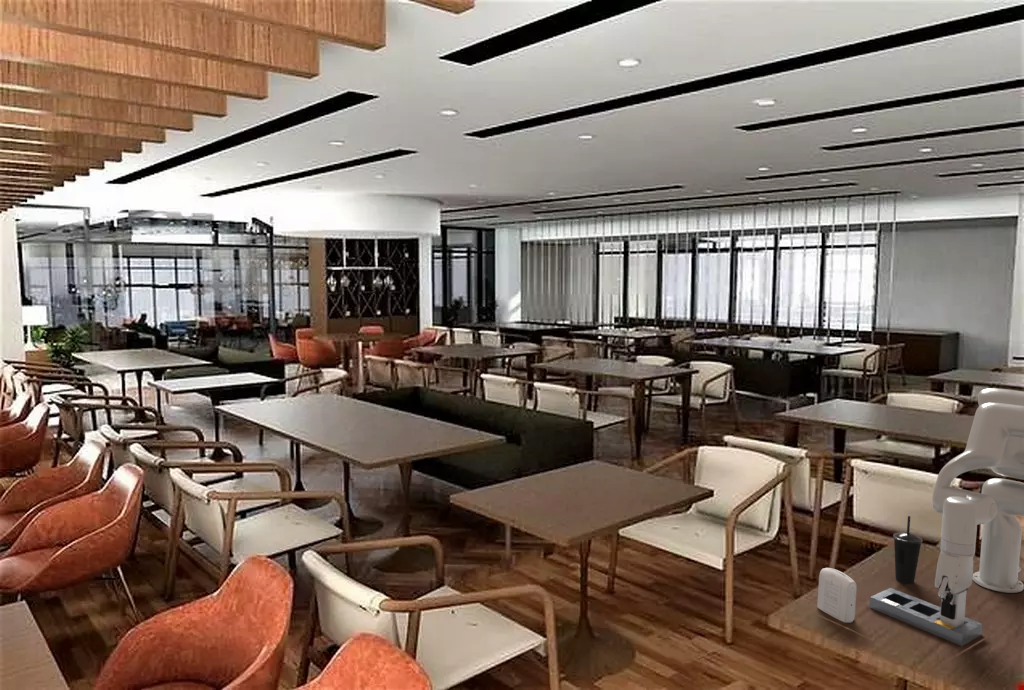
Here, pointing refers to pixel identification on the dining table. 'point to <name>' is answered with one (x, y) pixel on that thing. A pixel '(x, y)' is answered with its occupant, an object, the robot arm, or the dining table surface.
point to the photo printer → (837, 594)
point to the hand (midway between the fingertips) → (952, 614)
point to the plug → (957, 610)
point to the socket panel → (923, 616)
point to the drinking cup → (906, 555)
